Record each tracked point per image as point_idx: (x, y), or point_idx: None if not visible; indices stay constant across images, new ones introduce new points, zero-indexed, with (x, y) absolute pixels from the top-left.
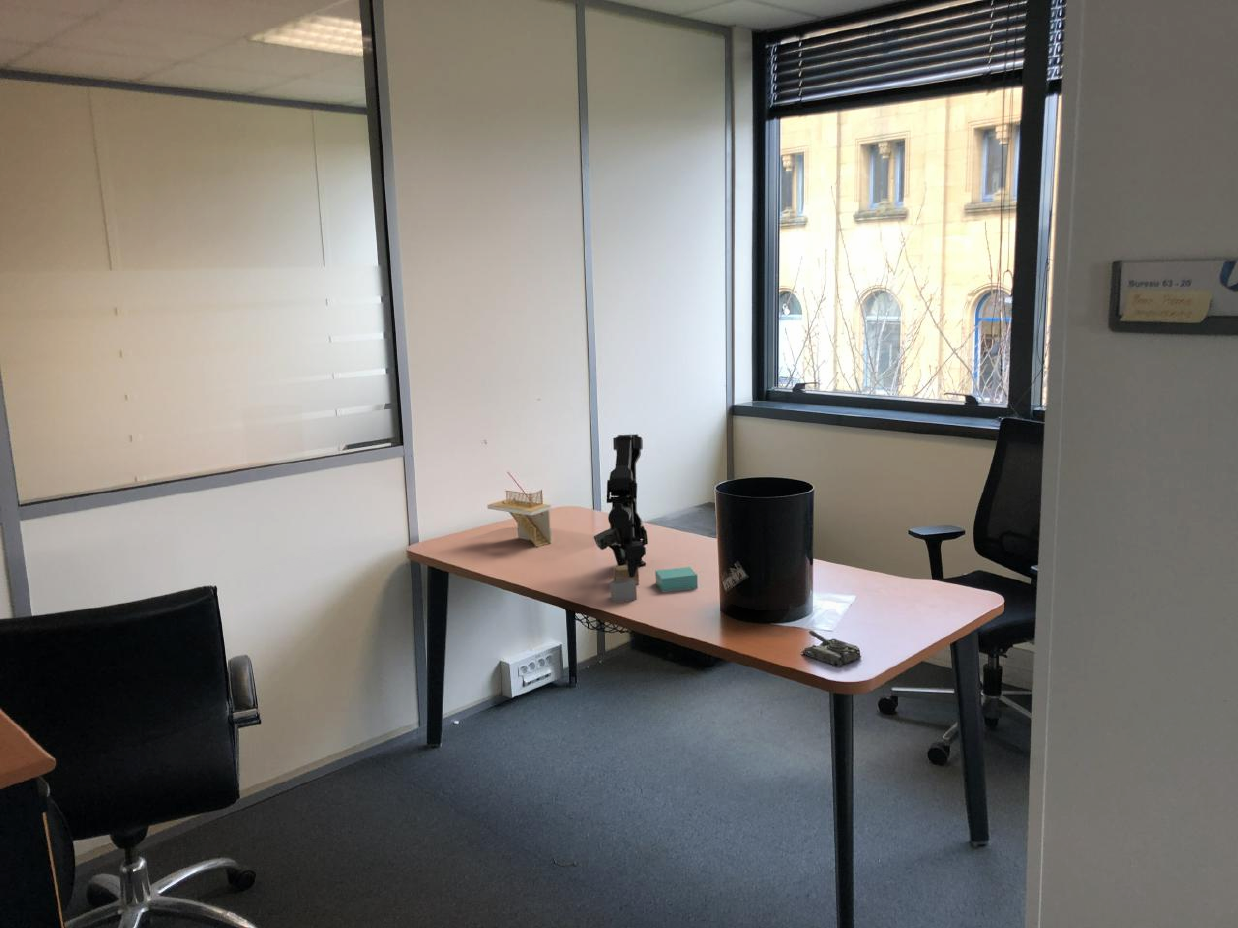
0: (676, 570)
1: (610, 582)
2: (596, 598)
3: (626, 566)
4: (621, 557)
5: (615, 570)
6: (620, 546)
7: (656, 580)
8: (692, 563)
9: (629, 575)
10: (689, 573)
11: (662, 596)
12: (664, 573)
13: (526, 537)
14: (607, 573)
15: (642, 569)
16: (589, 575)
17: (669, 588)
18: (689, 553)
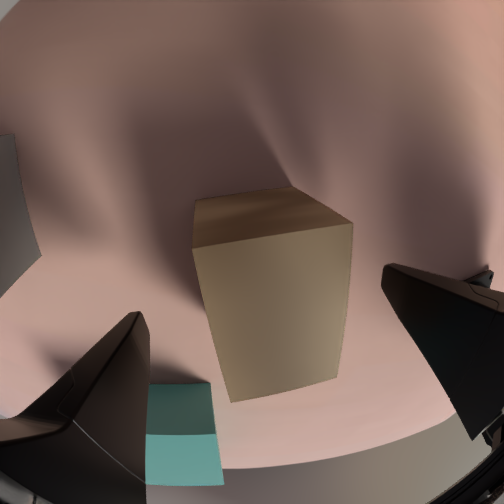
0: (192, 469)
1: None
2: (41, 50)
3: (301, 338)
4: (435, 331)
5: (282, 224)
6: (500, 388)
7: (195, 397)
8: (354, 439)
9: (124, 319)
10: (146, 478)
11: (35, 363)
12: (157, 448)
13: None
14: (448, 197)
15: (406, 340)
16: (455, 110)
17: None
18: (415, 419)
